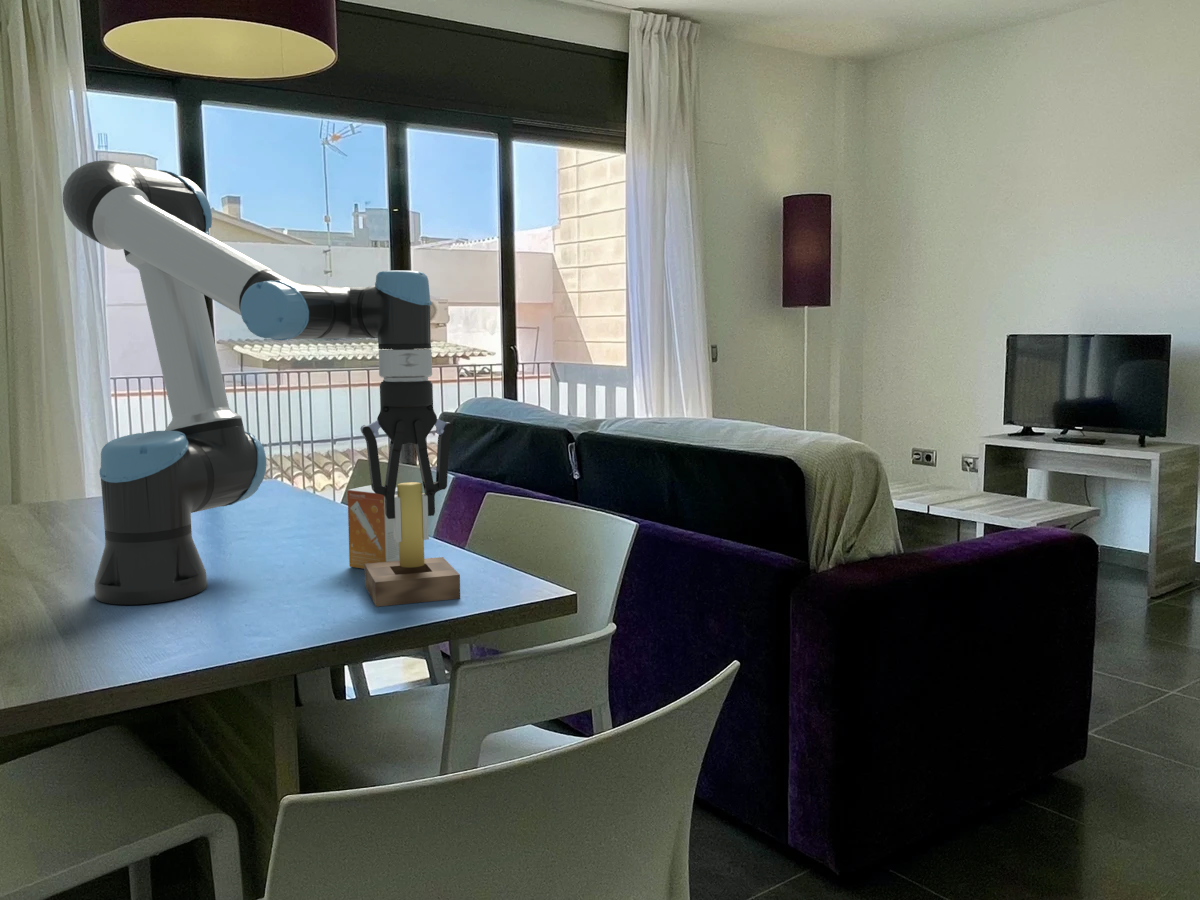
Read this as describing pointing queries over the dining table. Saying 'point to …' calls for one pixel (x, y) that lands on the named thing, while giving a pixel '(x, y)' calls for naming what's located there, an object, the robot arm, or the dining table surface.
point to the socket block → (411, 582)
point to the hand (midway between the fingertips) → (411, 538)
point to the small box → (369, 529)
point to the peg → (411, 525)
